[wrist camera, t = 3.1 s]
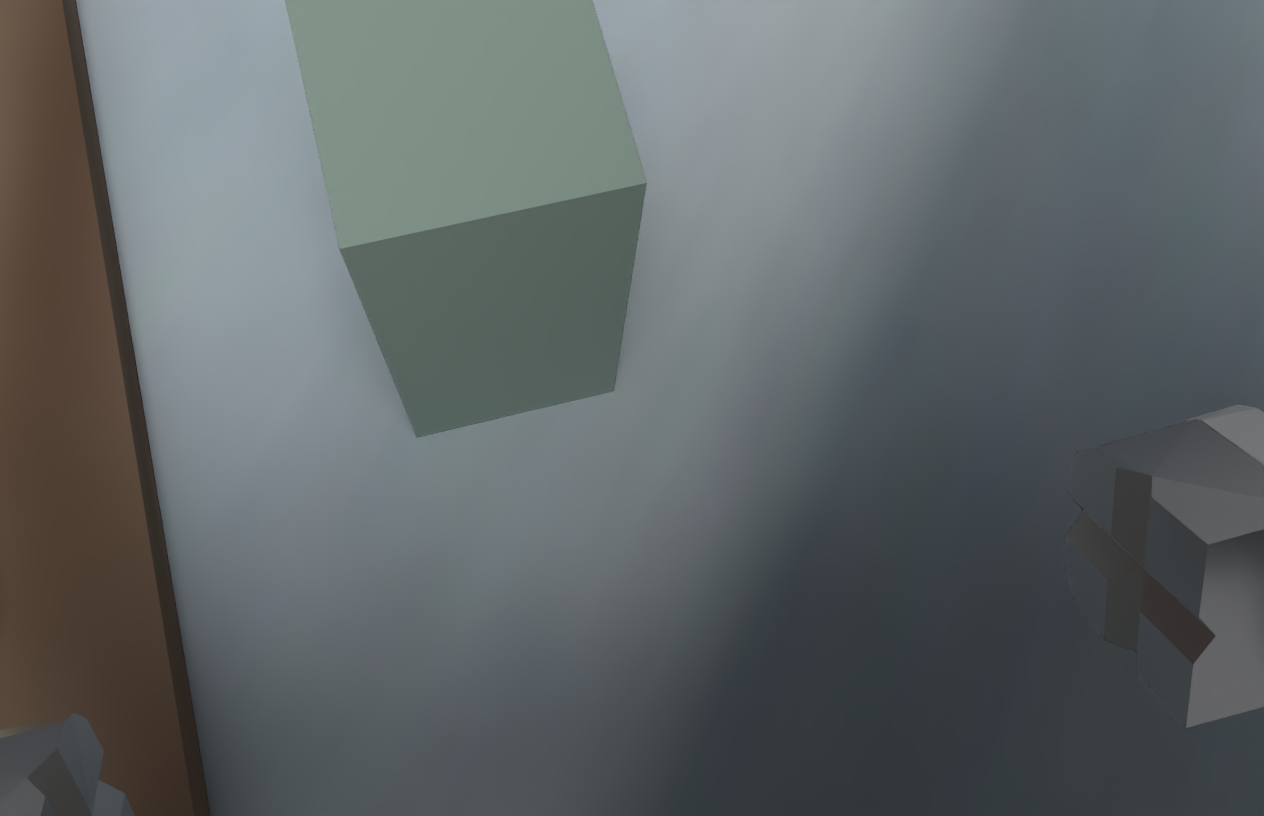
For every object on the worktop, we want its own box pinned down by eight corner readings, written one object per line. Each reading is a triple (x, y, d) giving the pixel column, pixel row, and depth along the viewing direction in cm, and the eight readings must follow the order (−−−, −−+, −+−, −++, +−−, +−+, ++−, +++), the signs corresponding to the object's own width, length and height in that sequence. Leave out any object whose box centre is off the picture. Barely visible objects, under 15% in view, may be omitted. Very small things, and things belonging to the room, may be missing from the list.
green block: (565, 213, 25) (570, -73, 17) (613, 391, 24) (646, 182, 16) (375, 254, 25) (280, -19, 16) (417, 437, 24) (339, 249, 15)
